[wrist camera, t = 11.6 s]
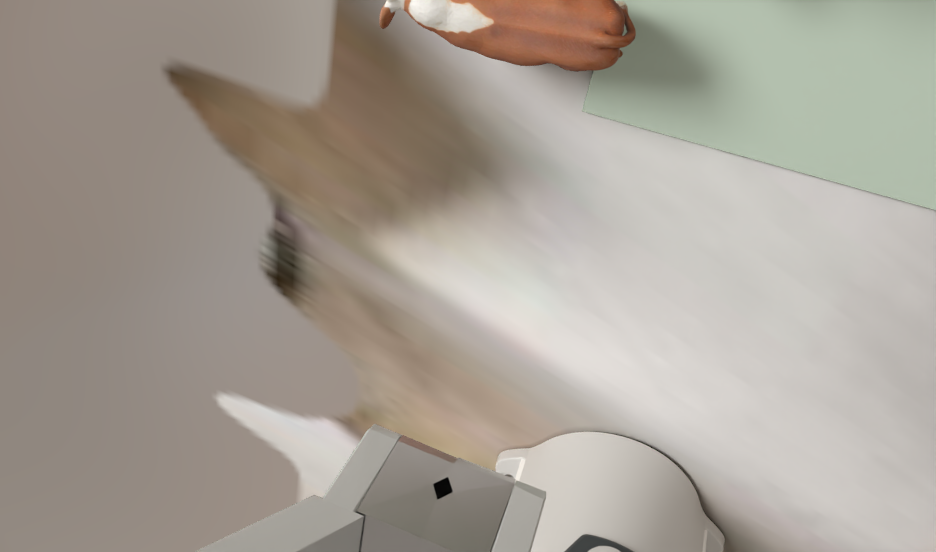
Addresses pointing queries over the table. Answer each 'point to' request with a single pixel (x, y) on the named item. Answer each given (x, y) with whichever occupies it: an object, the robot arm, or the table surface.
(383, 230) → the table surface
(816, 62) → the mat
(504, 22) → the bull figurine
